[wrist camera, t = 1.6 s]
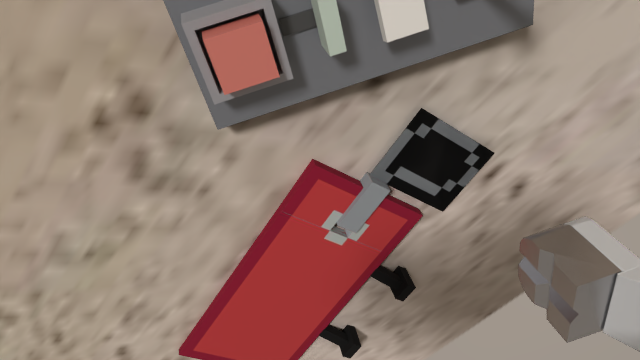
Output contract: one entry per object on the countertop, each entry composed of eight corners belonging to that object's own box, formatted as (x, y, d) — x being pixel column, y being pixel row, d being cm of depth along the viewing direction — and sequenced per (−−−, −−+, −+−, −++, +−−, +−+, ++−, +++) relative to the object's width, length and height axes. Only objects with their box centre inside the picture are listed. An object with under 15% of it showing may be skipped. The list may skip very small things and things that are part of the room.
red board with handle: (502, 156, 41) (369, 73, 34) (521, 174, 39) (382, 89, 32) (310, 371, 52) (179, 342, 45) (316, 395, 50) (178, 368, 43)
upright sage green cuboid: (325, -14, 27) (335, -6, 26) (337, 40, 29) (346, 51, 27) (308, -9, 27) (317, 0, 25) (321, 45, 29) (330, 56, 27)
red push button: (258, 13, 26) (262, 20, 25) (275, 67, 28) (279, 76, 27) (201, 31, 26) (202, 40, 25) (222, 84, 28) (224, 95, 27)
